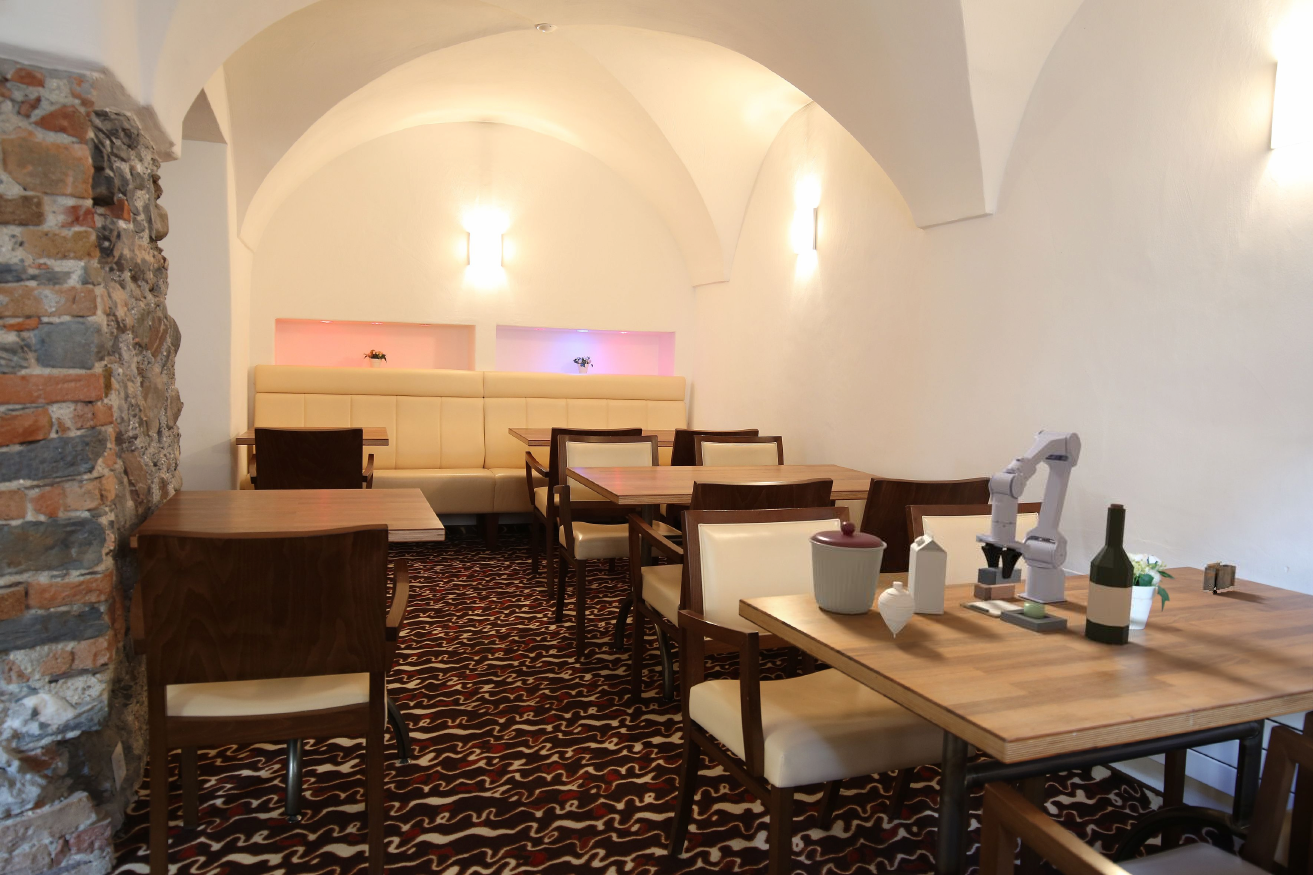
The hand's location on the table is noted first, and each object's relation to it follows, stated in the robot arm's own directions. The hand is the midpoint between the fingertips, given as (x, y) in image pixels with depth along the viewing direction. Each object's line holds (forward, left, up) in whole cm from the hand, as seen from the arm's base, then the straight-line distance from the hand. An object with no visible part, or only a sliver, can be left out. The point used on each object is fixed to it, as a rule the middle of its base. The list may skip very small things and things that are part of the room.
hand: (999, 576), depth 200 cm
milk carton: (+19, -5, -8) cm, 21 cm away
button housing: (+2, +12, -8) cm, 15 cm away
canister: (+38, -12, -8) cm, 41 cm away
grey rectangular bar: (0, 0, -2) cm, 2 cm away
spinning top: (+42, +10, -8) cm, 44 cm away
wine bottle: (-4, +26, -8) cm, 28 cm away
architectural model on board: (-81, +6, -9) cm, 82 cm away
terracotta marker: (-9, -9, -8) cm, 15 cm away
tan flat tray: (0, 0, -8) cm, 8 cm away
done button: (+2, +12, -7) cm, 14 cm away
